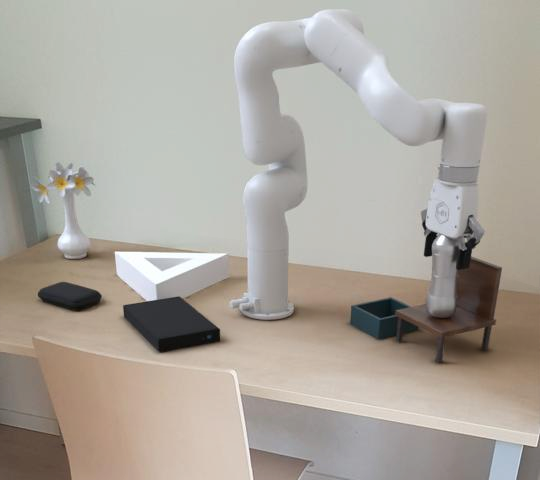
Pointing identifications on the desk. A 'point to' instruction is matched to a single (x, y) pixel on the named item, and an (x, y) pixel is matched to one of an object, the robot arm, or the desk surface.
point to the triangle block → (170, 272)
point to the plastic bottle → (443, 278)
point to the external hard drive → (171, 324)
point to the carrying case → (69, 295)
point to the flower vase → (68, 206)
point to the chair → (461, 307)
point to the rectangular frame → (379, 317)
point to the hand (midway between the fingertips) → (445, 262)
